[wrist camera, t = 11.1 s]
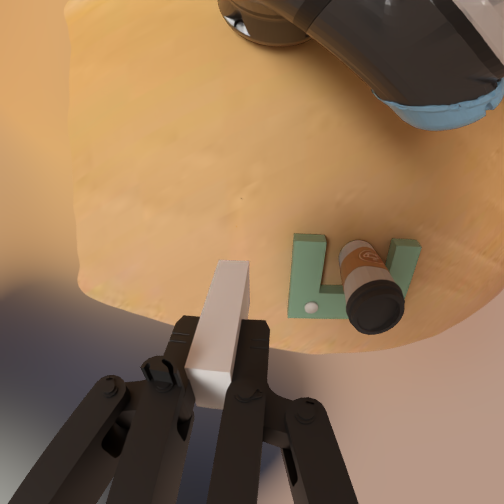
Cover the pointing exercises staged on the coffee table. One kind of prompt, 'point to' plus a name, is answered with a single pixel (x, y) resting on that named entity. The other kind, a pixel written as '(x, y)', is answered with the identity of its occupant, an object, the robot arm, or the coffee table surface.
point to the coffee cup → (369, 289)
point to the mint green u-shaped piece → (332, 296)
